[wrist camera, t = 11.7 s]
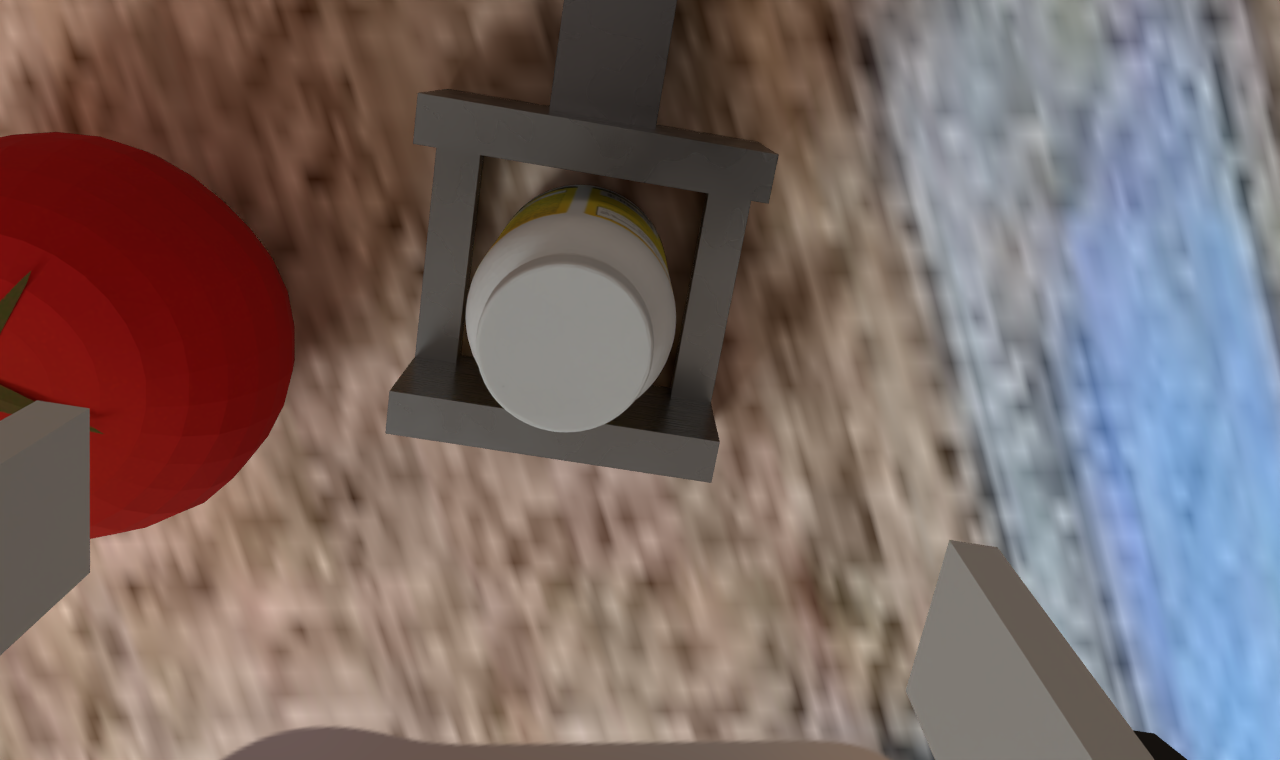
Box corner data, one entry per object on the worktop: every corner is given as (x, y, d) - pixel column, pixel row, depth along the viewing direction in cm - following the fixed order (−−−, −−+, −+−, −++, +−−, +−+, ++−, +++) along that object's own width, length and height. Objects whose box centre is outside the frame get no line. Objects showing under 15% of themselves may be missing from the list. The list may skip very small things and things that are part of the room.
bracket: (483, -254, 31) (456, -312, 26) (824, -189, 32) (858, -234, 27) (417, 386, 38) (385, 433, 33) (701, 430, 38) (711, 482, 33)
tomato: (275, 91, 34) (129, 102, 24) (369, 432, 38) (276, 562, 28) (-116, 163, 35) (-413, 203, 25) (15, 492, 39) (-197, 638, 29)
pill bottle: (496, 344, 37) (442, 454, 27) (499, 177, 35) (442, 225, 25) (661, 353, 37) (673, 467, 27) (673, 187, 35) (690, 239, 25)
